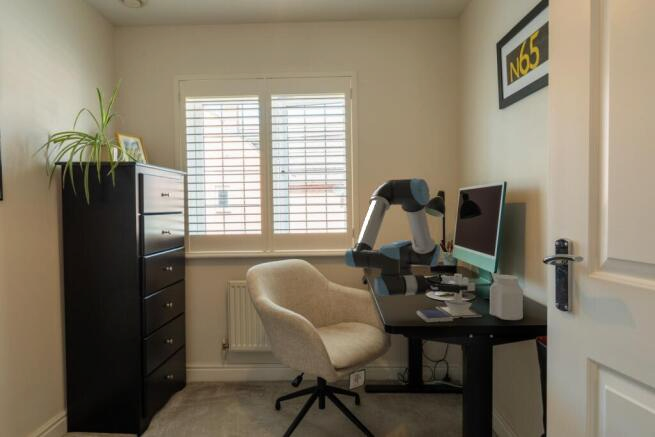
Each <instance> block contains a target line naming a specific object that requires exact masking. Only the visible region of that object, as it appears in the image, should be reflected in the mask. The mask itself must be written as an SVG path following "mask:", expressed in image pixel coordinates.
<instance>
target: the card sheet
mask: <svg viewBox="0 0 655 437" xmlns="http://www.w3.org/2000/svg"><path fill="white" fill-rule="evenodd" d="M435 309H437V310H442V311H444V312H445V313H447V314H448V315H450V316H451V317H453V319H460V318H459V317H463V318H477V317H479V318H480V317H481V318H482V316H483V315H482V314H480V313H478V312H476V311H474V310H472V309H471V308H469V309H468V310H467V312H464V313H455V312H452V311H450V310H449V308H448V306H447V305H440V306H436V307H435Z"/></svg>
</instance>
